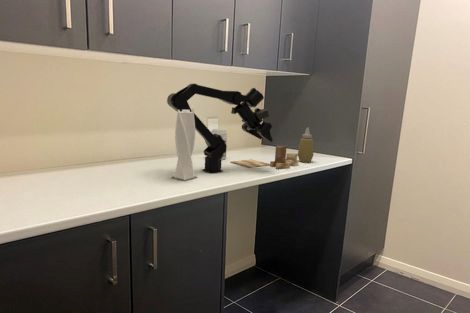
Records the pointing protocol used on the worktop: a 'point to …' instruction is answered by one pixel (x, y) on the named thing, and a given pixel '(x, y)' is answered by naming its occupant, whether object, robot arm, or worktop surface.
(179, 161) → the skyscraper
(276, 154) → the brown wooden block
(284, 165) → the oak rack
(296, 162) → the pine offcut lower
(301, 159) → the squeeze bottle
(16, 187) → the worktop surface
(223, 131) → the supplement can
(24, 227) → the worktop surface
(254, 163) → the striped wooden board
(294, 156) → the pine offcut upper
